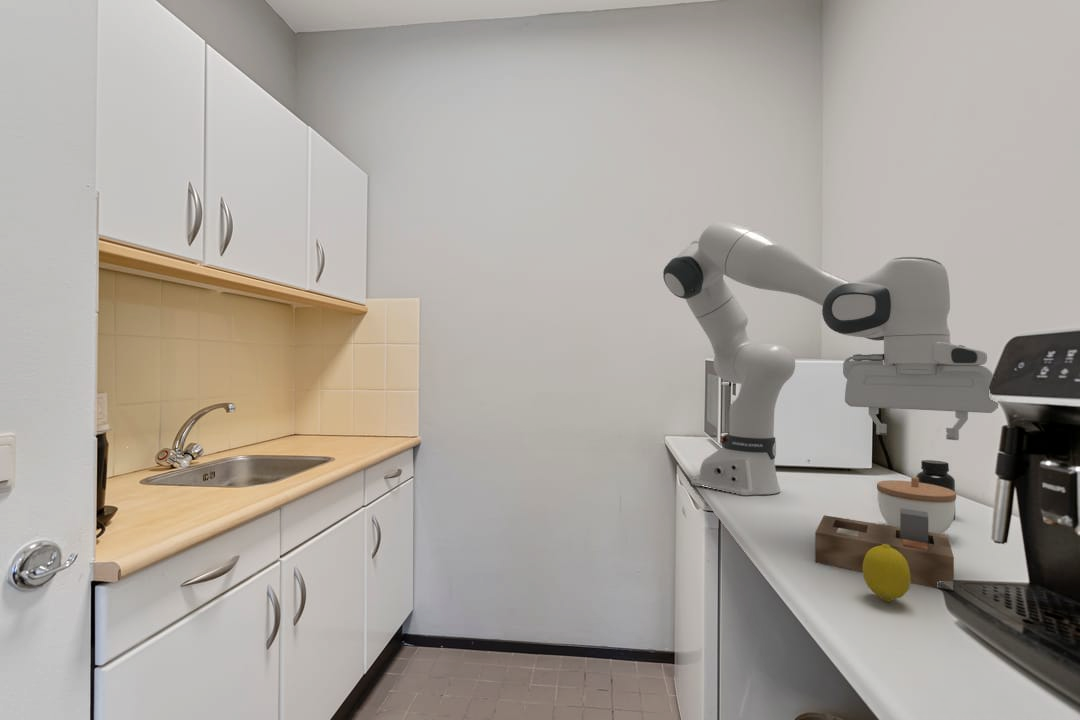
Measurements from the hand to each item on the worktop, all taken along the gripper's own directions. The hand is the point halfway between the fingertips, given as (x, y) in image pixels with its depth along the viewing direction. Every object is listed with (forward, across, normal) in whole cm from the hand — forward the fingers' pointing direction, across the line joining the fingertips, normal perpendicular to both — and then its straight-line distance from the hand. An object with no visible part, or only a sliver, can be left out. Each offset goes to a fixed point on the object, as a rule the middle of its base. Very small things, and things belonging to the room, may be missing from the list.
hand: (915, 437), depth 83 cm
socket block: (+21, -5, -3) cm, 22 cm away
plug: (+21, 0, -1) cm, 21 cm away
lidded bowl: (+22, 0, +20) cm, 30 cm away
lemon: (+22, -4, -19) cm, 29 cm away
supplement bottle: (+22, +4, +38) cm, 44 cm away
